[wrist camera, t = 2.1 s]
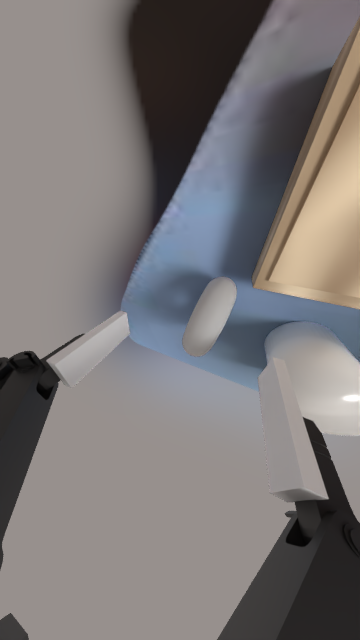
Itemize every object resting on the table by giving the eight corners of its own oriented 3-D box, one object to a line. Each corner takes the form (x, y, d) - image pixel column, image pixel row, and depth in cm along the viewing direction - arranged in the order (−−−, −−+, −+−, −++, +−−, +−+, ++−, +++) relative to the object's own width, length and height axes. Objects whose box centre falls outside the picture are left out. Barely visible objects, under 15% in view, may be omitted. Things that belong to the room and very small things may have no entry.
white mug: (355, 332, 16) (440, 411, 9) (301, 382, 22) (326, 452, 15) (280, 314, 18) (301, 367, 11) (249, 364, 24) (251, 419, 17)
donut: (218, 263, 18) (197, 289, 10) (244, 273, 17) (243, 309, 9) (194, 320, 24) (169, 364, 16) (212, 329, 23) (196, 378, 16)
